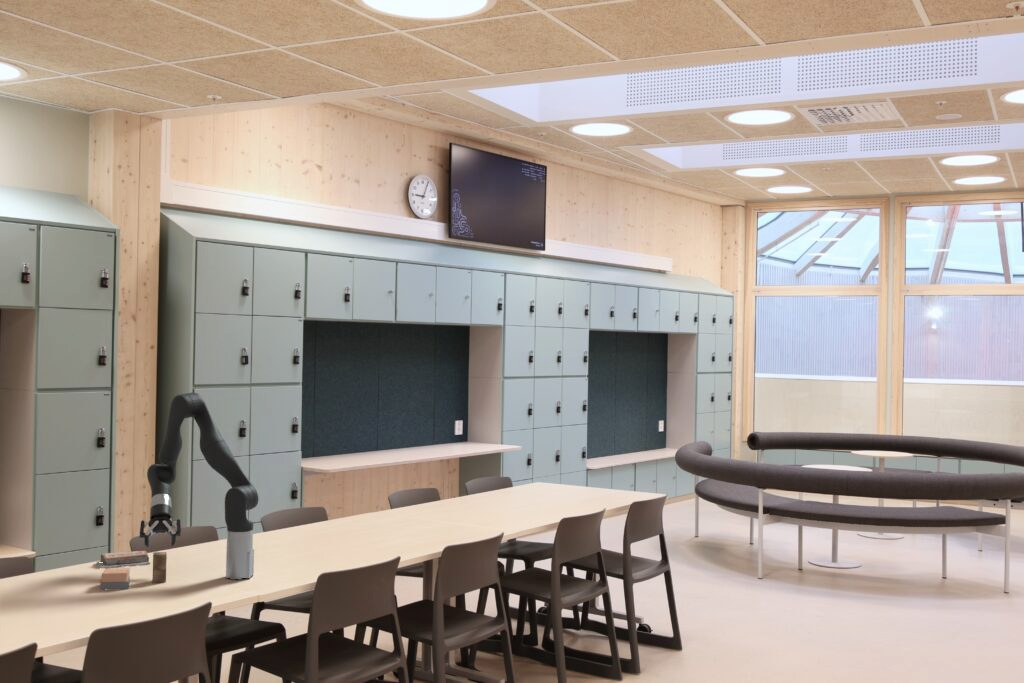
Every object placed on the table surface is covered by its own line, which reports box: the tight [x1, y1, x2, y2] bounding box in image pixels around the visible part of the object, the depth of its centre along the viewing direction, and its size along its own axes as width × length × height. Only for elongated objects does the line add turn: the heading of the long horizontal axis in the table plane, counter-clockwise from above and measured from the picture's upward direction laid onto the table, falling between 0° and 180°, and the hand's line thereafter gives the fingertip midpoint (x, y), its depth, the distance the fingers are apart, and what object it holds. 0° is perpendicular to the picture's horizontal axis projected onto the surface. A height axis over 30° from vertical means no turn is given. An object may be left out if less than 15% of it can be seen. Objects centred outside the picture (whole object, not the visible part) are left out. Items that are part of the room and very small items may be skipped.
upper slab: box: [101, 567, 131, 582], centre depth 338 cm, size 8×8×3 cm
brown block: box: [152, 551, 168, 584], centre depth 347 cm, size 4×4×10 cm
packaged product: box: [96, 550, 151, 569], centre depth 373 cm, size 18×5×10 cm
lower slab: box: [99, 575, 131, 591], centre depth 338 cm, size 9×9×3 cm
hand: (160, 545), depth 354 cm, fingers open, 8 cm apart
